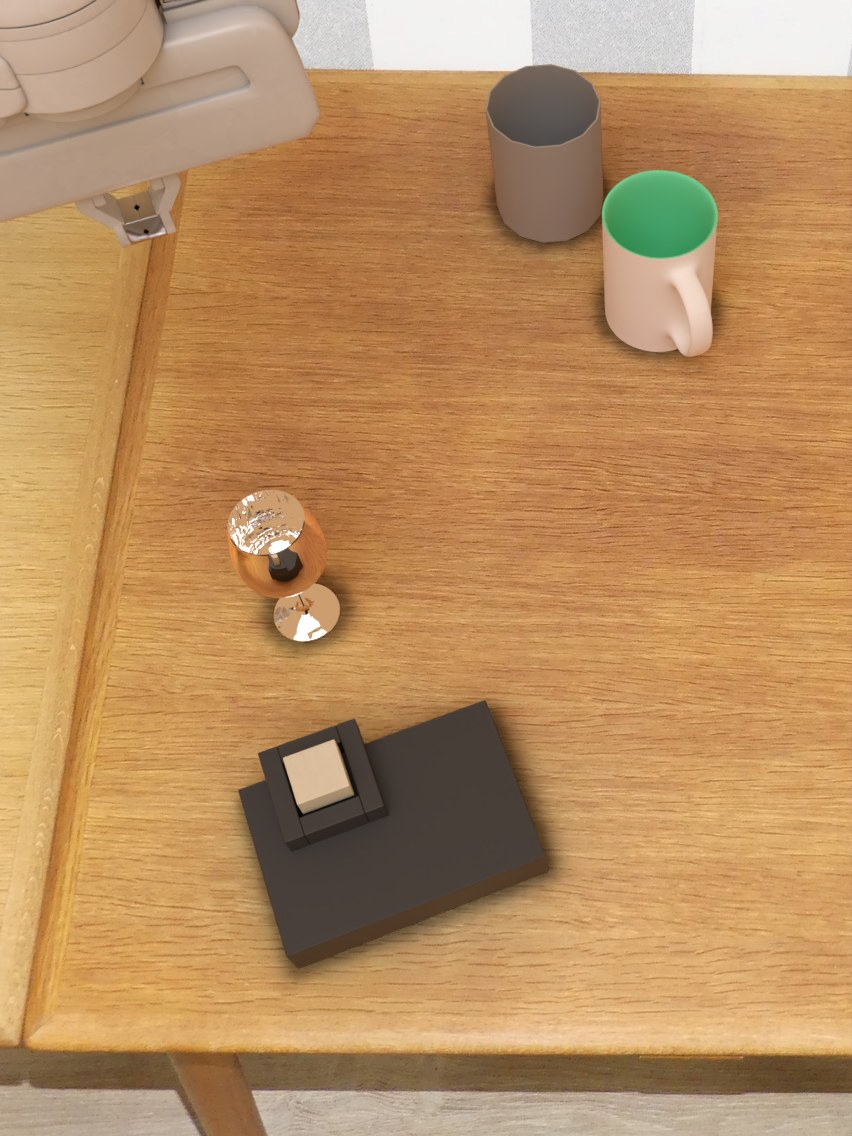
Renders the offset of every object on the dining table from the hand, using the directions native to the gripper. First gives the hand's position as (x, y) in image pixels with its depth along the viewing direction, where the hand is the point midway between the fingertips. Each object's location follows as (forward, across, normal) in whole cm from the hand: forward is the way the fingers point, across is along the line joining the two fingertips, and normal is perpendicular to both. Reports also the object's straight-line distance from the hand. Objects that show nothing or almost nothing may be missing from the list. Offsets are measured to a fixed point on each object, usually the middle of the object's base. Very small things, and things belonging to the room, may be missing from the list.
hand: (147, 231), depth 74 cm
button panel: (+29, -1, +26) cm, 39 cm away
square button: (+24, +2, +22) cm, 33 cm away
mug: (+29, -32, -5) cm, 44 cm away
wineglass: (+29, 0, +8) cm, 30 cm away
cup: (+29, -28, -20) cm, 45 cm away
